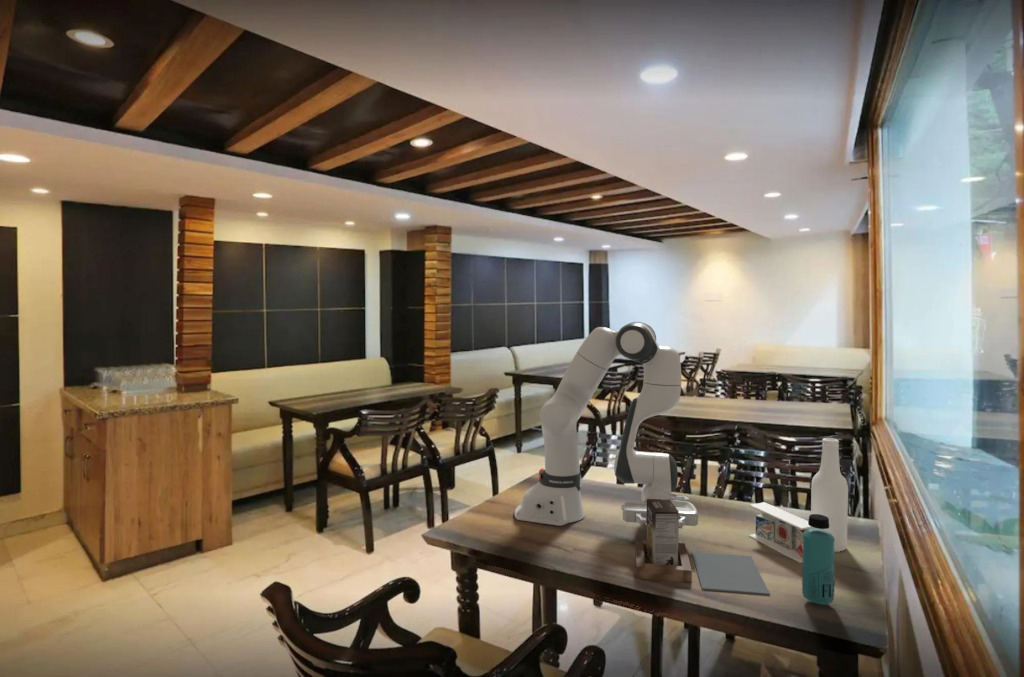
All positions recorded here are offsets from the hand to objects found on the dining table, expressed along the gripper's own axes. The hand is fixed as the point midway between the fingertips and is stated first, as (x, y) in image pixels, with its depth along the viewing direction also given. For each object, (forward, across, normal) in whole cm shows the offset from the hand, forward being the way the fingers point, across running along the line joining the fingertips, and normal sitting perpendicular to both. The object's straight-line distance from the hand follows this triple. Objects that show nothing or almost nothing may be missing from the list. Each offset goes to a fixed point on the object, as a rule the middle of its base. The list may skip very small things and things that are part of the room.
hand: (661, 524), depth 150 cm
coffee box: (+5, 0, +9) cm, 10 cm away
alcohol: (-15, +46, +9) cm, 49 cm away
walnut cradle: (+5, 0, +9) cm, 10 cm away
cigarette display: (-12, +33, +9) cm, 37 cm away
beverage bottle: (+18, +33, +9) cm, 38 cm away
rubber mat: (+6, +16, +9) cm, 19 cm away
